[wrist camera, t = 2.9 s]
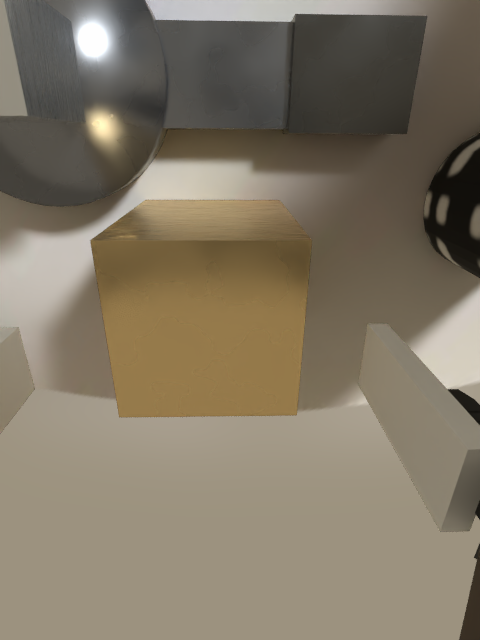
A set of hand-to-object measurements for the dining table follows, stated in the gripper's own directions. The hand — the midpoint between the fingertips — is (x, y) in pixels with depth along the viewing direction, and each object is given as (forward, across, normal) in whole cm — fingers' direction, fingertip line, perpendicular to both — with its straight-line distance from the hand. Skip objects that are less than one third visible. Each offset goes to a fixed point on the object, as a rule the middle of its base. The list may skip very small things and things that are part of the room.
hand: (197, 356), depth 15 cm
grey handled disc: (+11, -2, +10) cm, 15 cm away
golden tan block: (+11, 0, 0) cm, 11 cm away
